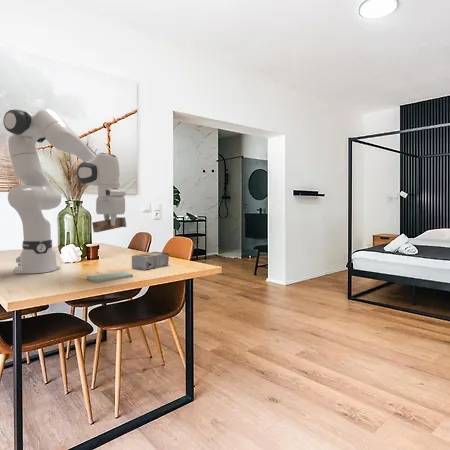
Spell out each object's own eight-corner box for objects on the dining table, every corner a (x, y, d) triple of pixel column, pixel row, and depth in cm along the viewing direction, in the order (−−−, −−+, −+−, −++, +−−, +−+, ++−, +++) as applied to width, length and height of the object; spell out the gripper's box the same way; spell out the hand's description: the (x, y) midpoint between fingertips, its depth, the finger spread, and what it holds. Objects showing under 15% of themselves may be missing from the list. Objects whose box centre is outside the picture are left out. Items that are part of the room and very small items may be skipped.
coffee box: (131, 255, 170) (155, 251, 184) (131, 268, 171) (155, 263, 184) (145, 256, 165) (168, 252, 179) (145, 270, 166) (168, 265, 179)
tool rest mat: (86, 278, 147) (86, 276, 147) (123, 273, 158) (123, 271, 158) (95, 282, 141) (95, 279, 140) (132, 276, 151) (132, 274, 151)
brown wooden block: (98, 232, 143) (97, 222, 142) (91, 232, 147) (89, 222, 146) (126, 226, 152) (125, 217, 151) (118, 226, 156) (117, 217, 155)
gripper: (91, 193, 154) (92, 225, 155) (112, 191, 139) (114, 226, 140) (105, 193, 158) (106, 224, 159) (127, 191, 143) (128, 225, 144)
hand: (110, 225), depth 150 cm, fingers closed on brown wooden block, 3 cm apart
